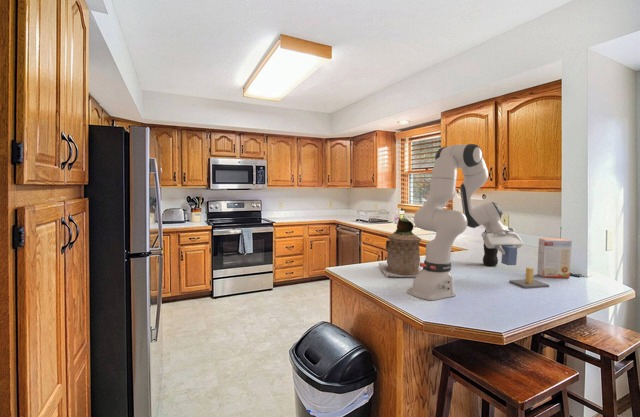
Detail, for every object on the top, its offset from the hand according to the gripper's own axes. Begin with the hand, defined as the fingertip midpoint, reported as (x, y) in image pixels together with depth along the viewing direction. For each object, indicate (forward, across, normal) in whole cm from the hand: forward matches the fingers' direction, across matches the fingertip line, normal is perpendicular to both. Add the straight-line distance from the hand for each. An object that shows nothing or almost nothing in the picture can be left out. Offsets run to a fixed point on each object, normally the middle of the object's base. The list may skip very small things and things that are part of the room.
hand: (510, 254), depth 159 cm
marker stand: (+12, +10, +9) cm, 18 cm away
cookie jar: (-10, -44, +33) cm, 56 cm away
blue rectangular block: (+3, 0, +4) cm, 5 cm away
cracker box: (+5, +35, +16) cm, 39 cm away
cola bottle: (-14, +18, +35) cm, 42 cm away
